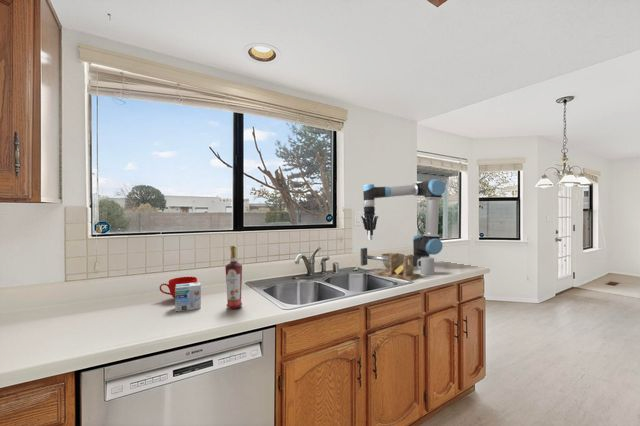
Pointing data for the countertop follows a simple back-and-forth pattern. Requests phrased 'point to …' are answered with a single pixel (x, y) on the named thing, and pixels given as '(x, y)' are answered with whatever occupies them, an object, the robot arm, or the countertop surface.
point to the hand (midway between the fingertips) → (370, 239)
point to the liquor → (233, 280)
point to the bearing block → (393, 266)
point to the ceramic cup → (177, 281)
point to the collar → (399, 270)
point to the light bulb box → (187, 296)
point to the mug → (426, 265)
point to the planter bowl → (394, 257)
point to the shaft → (370, 257)
